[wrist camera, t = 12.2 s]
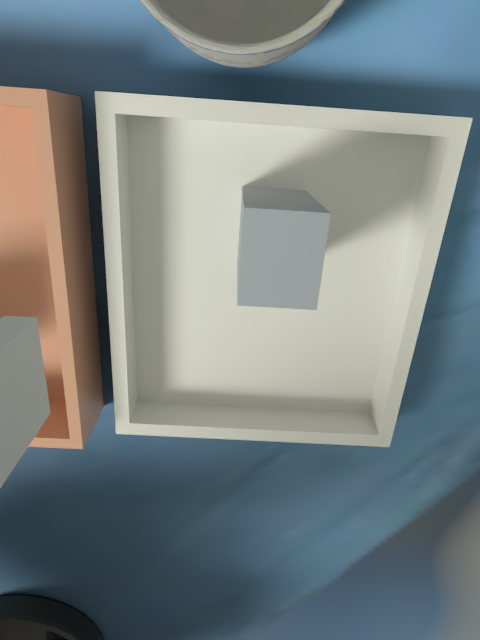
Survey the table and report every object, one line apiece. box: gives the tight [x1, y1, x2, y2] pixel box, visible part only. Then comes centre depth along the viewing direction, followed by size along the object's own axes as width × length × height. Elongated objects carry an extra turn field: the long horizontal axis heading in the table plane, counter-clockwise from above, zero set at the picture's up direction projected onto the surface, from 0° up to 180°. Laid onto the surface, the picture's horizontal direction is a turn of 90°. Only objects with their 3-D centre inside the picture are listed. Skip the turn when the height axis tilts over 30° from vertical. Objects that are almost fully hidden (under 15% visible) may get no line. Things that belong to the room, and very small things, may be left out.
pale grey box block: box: [237, 187, 331, 310], centre depth 24 cm, size 5×4×8 cm
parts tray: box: [95, 91, 473, 447], centre depth 29 cm, size 22×20×3 cm
